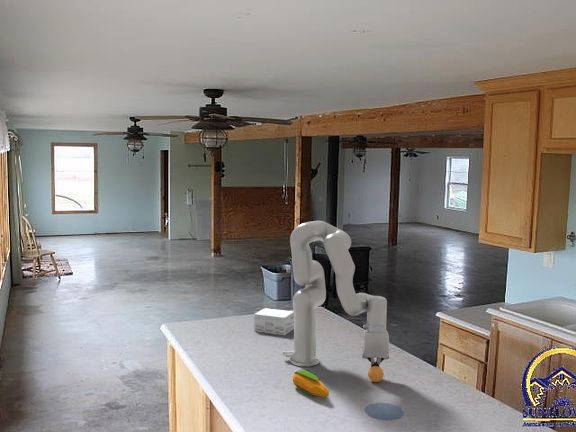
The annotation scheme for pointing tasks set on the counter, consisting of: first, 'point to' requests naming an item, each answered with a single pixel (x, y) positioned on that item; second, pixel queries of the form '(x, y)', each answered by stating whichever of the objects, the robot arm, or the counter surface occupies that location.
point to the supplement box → (274, 321)
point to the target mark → (384, 411)
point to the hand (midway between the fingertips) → (374, 372)
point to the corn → (309, 383)
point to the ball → (375, 374)
